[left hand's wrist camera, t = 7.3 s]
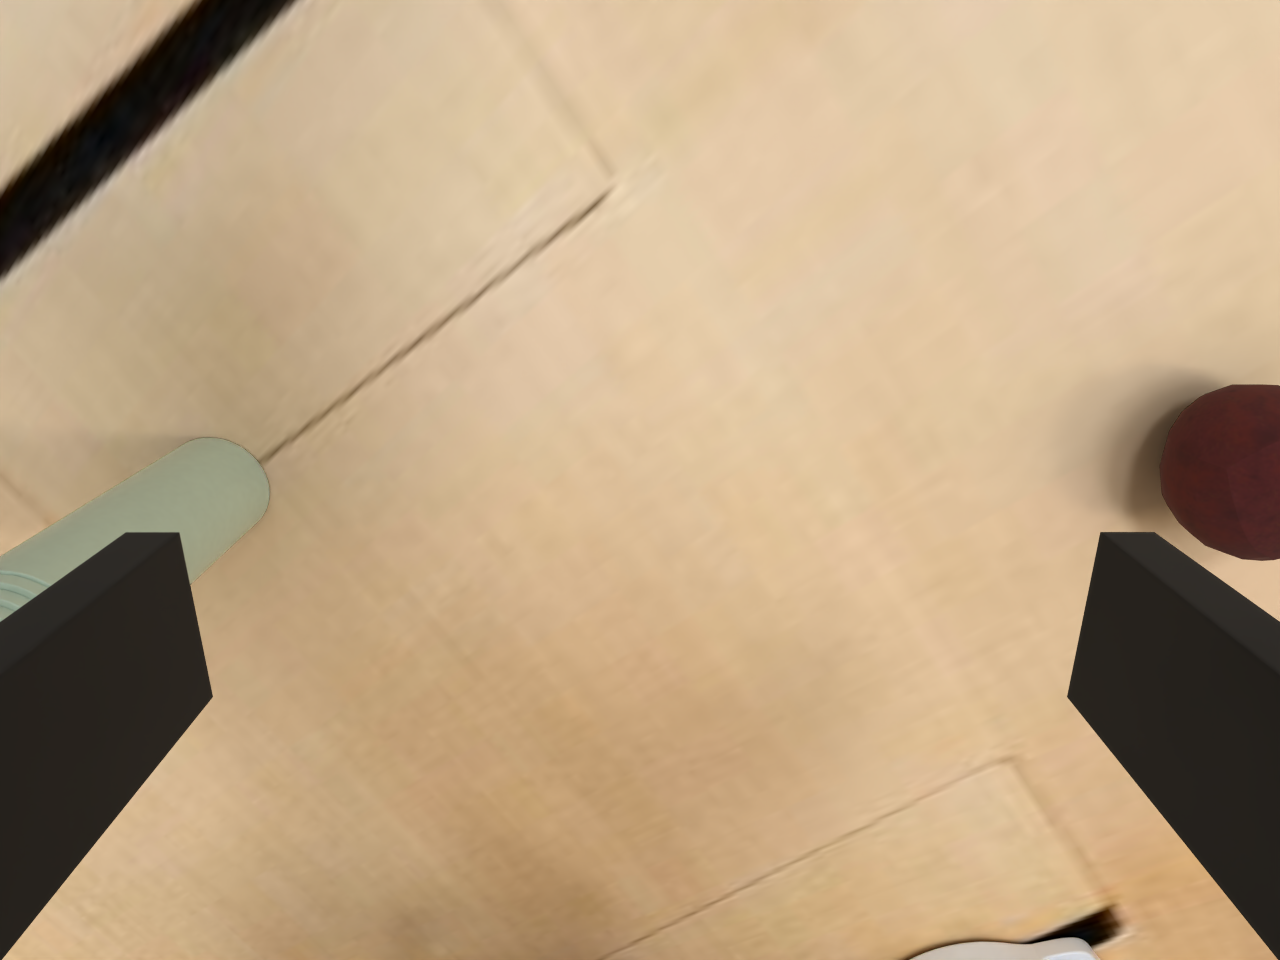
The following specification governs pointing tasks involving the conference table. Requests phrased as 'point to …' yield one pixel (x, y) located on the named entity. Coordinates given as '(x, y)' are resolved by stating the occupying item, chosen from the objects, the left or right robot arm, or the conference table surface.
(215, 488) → the bottle
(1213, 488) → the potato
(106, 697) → the left robot arm
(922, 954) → the right robot arm
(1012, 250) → the conference table surface
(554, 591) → the conference table surface
